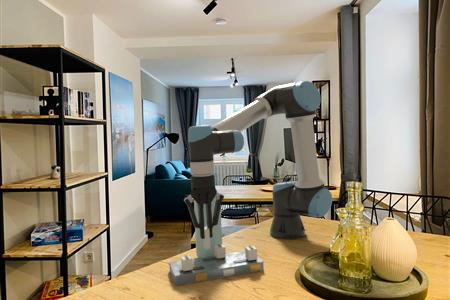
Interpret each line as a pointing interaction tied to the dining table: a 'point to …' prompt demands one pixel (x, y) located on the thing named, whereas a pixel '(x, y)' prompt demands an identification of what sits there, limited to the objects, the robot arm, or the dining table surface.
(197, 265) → the console
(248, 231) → the dining table surface
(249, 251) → the switch
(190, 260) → the switch
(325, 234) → the dining table surface
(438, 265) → the dining table surface
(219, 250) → the switch
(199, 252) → the water bottle
